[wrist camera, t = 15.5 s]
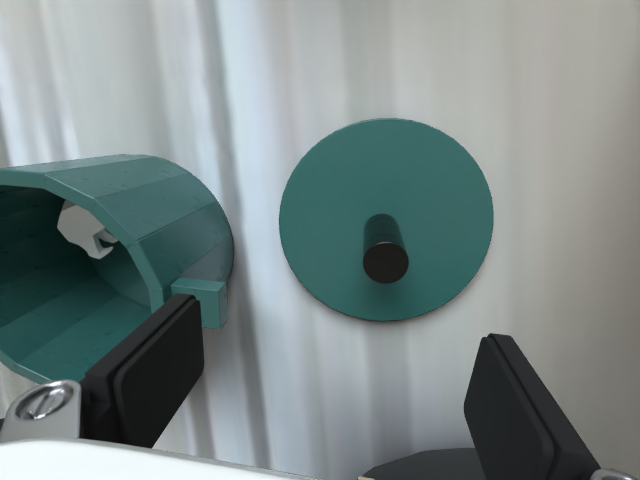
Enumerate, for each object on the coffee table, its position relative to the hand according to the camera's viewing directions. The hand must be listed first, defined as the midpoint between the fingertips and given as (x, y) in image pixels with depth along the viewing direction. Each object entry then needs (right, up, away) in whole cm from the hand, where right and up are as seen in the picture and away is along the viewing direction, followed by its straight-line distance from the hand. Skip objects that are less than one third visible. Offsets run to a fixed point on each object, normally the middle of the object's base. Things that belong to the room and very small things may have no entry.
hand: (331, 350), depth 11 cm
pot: (-14, +4, +16) cm, 22 cm away
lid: (+4, +5, +13) cm, 14 cm away
